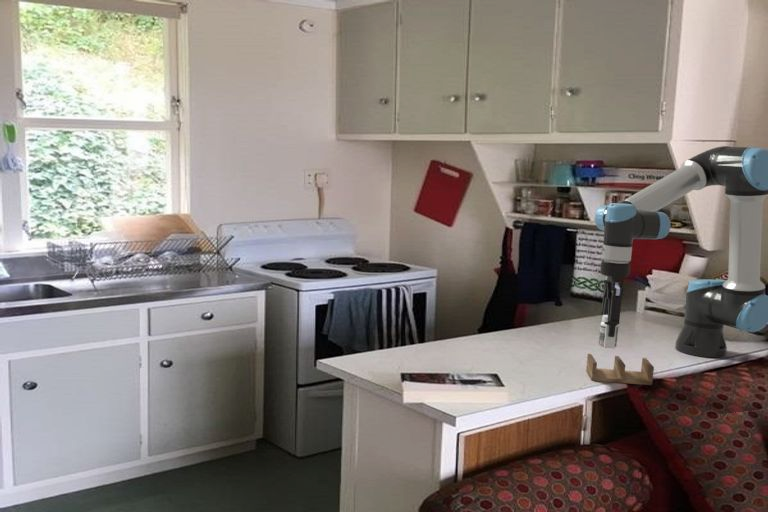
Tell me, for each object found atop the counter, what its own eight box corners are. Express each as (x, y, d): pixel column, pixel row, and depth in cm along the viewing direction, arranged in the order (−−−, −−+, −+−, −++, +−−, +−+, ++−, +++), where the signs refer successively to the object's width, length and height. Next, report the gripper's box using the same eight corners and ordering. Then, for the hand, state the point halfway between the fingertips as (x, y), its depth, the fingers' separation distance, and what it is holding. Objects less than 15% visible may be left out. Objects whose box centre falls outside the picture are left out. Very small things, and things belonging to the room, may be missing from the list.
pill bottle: (613, 344, 223) (616, 314, 222) (618, 348, 219) (621, 318, 217) (596, 343, 223) (599, 313, 222) (601, 348, 218) (604, 317, 217)
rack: (644, 375, 226) (646, 358, 225) (652, 385, 217) (654, 367, 216) (586, 371, 227) (587, 353, 226) (591, 380, 218) (593, 362, 217)
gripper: (595, 255, 226) (587, 336, 230) (607, 265, 209) (599, 352, 212) (623, 257, 226) (614, 338, 229) (637, 267, 208) (628, 355, 212)
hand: (607, 345), depth 221 cm, fingers closed on pill bottle, 5 cm apart
